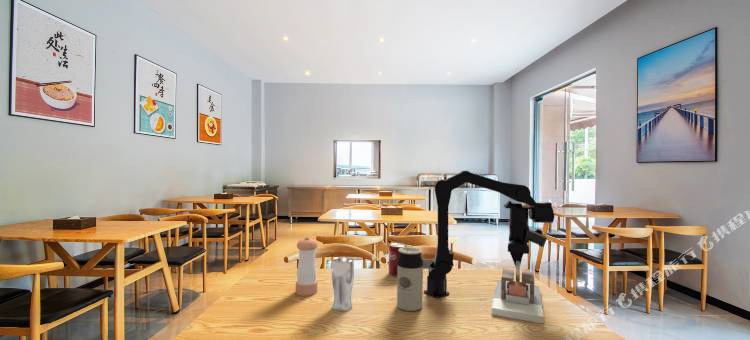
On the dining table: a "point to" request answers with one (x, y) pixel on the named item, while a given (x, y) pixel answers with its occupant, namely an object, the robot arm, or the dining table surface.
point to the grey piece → (517, 298)
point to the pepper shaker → (306, 268)
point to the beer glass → (342, 282)
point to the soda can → (394, 257)
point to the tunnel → (509, 276)
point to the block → (517, 289)
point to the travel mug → (410, 279)
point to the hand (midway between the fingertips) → (517, 268)
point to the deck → (518, 306)
